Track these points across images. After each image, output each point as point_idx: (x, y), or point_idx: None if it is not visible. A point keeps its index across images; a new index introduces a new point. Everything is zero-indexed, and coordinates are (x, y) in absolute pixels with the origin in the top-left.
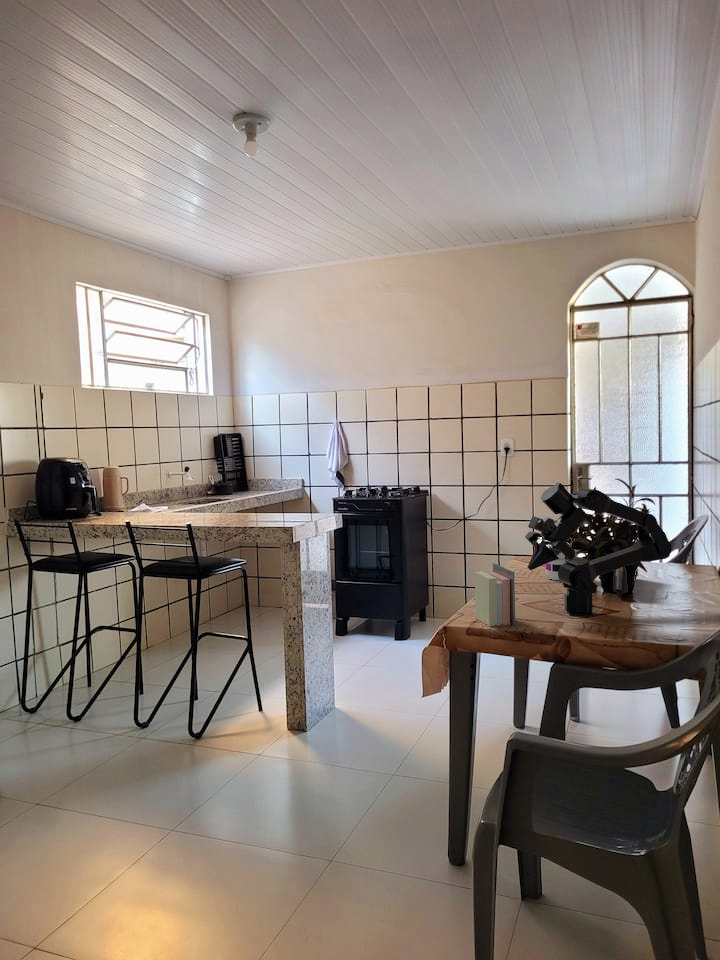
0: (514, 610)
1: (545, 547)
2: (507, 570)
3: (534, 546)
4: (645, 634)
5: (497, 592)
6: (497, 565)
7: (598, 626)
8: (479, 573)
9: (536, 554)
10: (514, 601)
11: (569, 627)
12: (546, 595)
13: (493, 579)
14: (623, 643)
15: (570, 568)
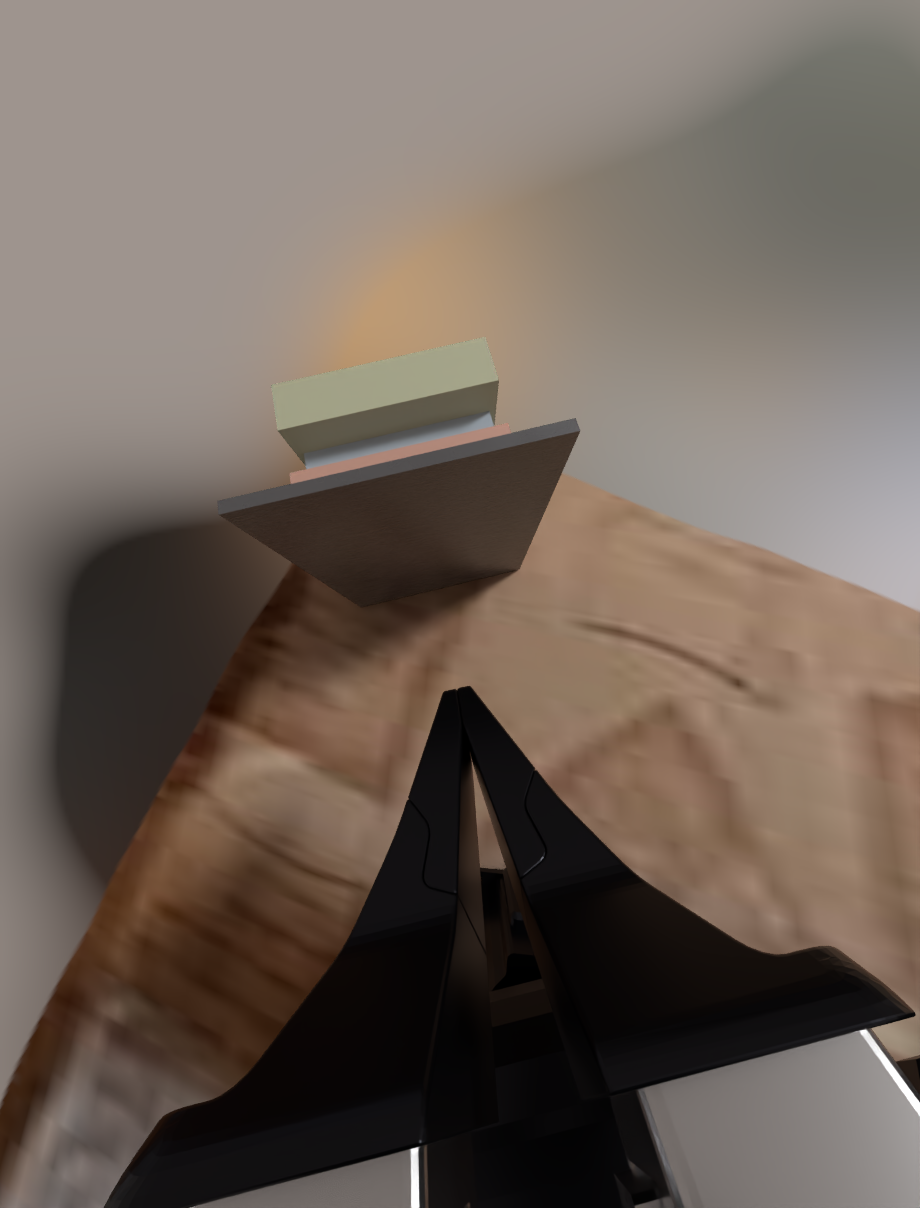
0: (339, 591)
1: (161, 1119)
2: (306, 481)
3: (668, 908)
4: None
5: None
6: (495, 439)
7: (306, 941)
8: (435, 355)
9: (504, 839)
10: (322, 580)
11: (313, 805)
12: (851, 868)
13: (277, 415)
14: (78, 957)
15: (496, 1181)
